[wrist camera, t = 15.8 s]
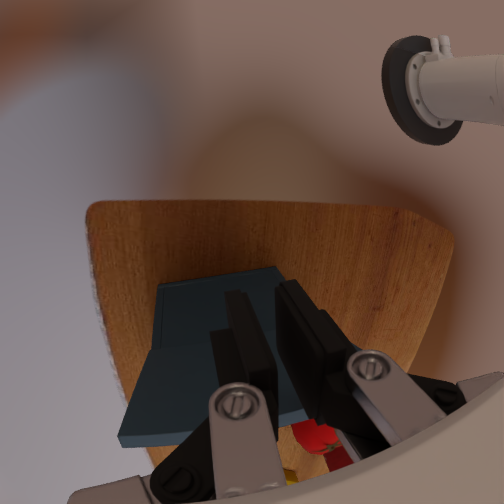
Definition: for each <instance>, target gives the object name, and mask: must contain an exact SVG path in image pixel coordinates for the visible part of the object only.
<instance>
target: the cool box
mask: <svg viewBox="0 0 504 504" xmlns="http://www.w3.org/2000/svg"><path fill="white" fill-rule="evenodd" d="M282 281H286V280H285V278H284V277H283V276H282V274H281V273H280V271H279V270H278V268H277V267H276V266H274V267H268V268H262V269H256V270H250V271H244V272H237V273H231V274H225V275H218V276H212V277H205V278H199V279H192V280H186V281H179V282H172V283H166V284H159V285H158V288H157V296H156V305H155V314H154V324H153V335H152V346H151V350H154V349H162V348H170V347H177V346H184V345H191V344H198V343H204V342H211V339H210V333H209V331H214V330H221V329H226V328H229V326H228V319H227V311H226V304H225V296H224V291H230V290H236V289H240V291H241V293H243V292H247V294H248V297H249V299H250V302H251V304H252V306H253V309H254V311H255V313H256V316H257V318H258V321H259V323H260V325H261V328H262V330H263V332H266V331H271V330H276V320H275V292H274V289H275V287H277V286H279V283H280V282H282Z"/></svg>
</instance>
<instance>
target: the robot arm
mask: <svg viewBox="0 0 504 504" xmlns="http://www.w3.org/2000/svg"><path fill="white" fill-rule="evenodd" d="M438 41H439V42H438ZM430 43H431V47H432V52H427V51H426V52H420V53H417V54H415V55H414V56H412V58H411V59H410V60H409V62H408V64H407V67H406V72H405V85H406V91H407V95H408V98H409V101H410V103H411V106H412V108H413V110H414V111H415V113H416V114H417V116H418V117H419V118H420V119H421V120H422V121H423V122H424V123H426V124H427V125H429V126H431V127H434V128H446V127H448V126H450V125H451V124H452V123H453V122H454V121H455V120H462V121H472V122H480V123H488V124H495V125H501V126H504V54H500V55H478V56H465V57H455V58H454V56H453V55H452V54H451V50H450V41H449V37H448V36H444V35H439V36H438V39H436V38H430ZM439 46H440V50H441V52H440V51H439ZM274 292H275V320H276V346H277V351H278V354H279V356H280V358H281V361H282V363H283V365H284V367H285V369H286V371H287V374H288V376H289V378H290V380H291V382H292V385H293V387H294V389H295V391H296V393H297V395H298V398H299V400H300V402H301V404H302V406H303V408H304V410H305V413H306V415H307V417H308V418H309V419H310V420H311V419H314V420H315V422H316V424H317V426H320V425H324V424H326V425H327V426H329V427H332V428H334V432H335V434H336V436H337V437H338V439H339V440H340V442H341V444H342V445H343V447H344V448H345V450H346V451H347V453H348V454H349V456H350V458H351V459H352V461H353V462H354V464H351V465H349V466H346V467H343V468H341V469H338V470H335V471H332V472H329V473H327V474H324V475H321V476H318V477H314V478H311V479H308V480H305V481H301V482H298V483H295V484H291V485H287V482H286V478H285V474H284V471H283V467H282V463H281V459H280V455H279V451H278V447H277V444H276V443H277V441H278V428H279V402H278V370H277V365H276V361H275V358H274V356H273V353H272V351H271V349H270V346H269V344H268V342H267V339H266V337H265V335H264V332H263V330H262V328H261V325H260V323H259V321H258V318H257V316H256V313H255V311H254V309H253V306H252V304H251V302H250V299H249V297H248V294H247V292H243V293H241V291H240V289H236V290H230V291H224V296H225V304H226V311H227V319H228V326H229V328H226V329H221V330H214V331H209V333H210V339H211V344H212V350H213V356H214V361H215V366H216V372H217V377H218V382H219V387H220V388H218V389H217V390H216V391H215V392H214V393H213V394H212V396H211V397H210V399H209V416H208V417H207V418H206V419H205V420H204V421H203V422H202V423H201V424H200V425H199V426H198V427H197V428H196V429H195V430H194V431H193V432H192V433H191V434H190V435H189V436H188V437H187V438H186V439H185V440H184V441H183V442H182V443H181V444H180V445H179V446H178V447H177V448H176V449H175V450H174V451H173V452H172V453H171V454H170V455H169V456H168V457H167V458H166V459H164V460H163V461H162V462H161V463H160V464H159V465H158V466H157V467H156V468H155V470H154V471H153V472H152V474H151V475H147V476H144V477H140V476H139V475H137V476H133V477H130V478H126V479H122V480H119V481H115V482H111V483H107V484H103V485H98V486H94V487H89V488H84V489H80V490H78V491H75V492H74V493H73V494H72V495H71V496H70V497H69V500H68V502H67V504H504V373H503V372H494V373H490V374H486V375H483V376H479V377H475V378H471V379H467V380H463V381H459V382H457V383H456V385H454V384H453V383H450V382H447V381H442V380H436V379H431V378H426V377H421V376H417V375H411V374H407V373H405V372H404V371H403V370H402V369H401V368H400V366H399V365H398V364H397V363H396V362H395V361H394V360H393V359H392V358H391V357H389V356H388V355H387V354H385V353H383V352H381V351H377V350H362V351H357V350H356V349H355V348H354V346H353V345H352V344H351V342H350V341H349V340H348V338H347V337H346V336H345V335H344V333H343V332H342V331H341V329H340V328H339V327H338V326H337V324H336V323H335V322H334V320H333V319H332V318H331V317H330V315H329V314H328V313H327V312H326V311H325V310H323V309H321V310H318V308H317V307H316V306H315V304H314V303H313V302H312V300H311V299H310V298H309V296H308V295H307V294H306V292H305V291H304V290H303V288H302V287H301V286H300V284H299V283H298V282H297V280H295V279H294V280H288V281H282V282H280V283H279V286H277V287H275V289H274Z"/></svg>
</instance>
